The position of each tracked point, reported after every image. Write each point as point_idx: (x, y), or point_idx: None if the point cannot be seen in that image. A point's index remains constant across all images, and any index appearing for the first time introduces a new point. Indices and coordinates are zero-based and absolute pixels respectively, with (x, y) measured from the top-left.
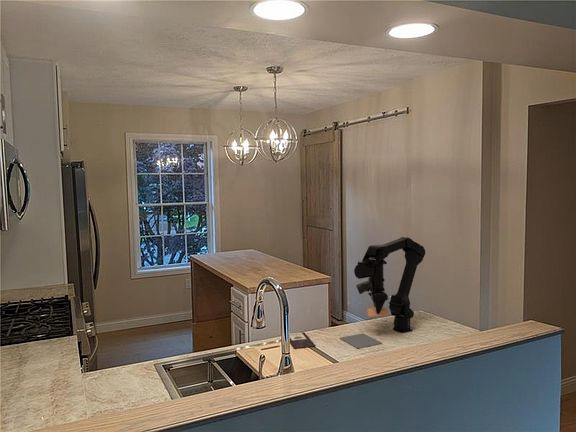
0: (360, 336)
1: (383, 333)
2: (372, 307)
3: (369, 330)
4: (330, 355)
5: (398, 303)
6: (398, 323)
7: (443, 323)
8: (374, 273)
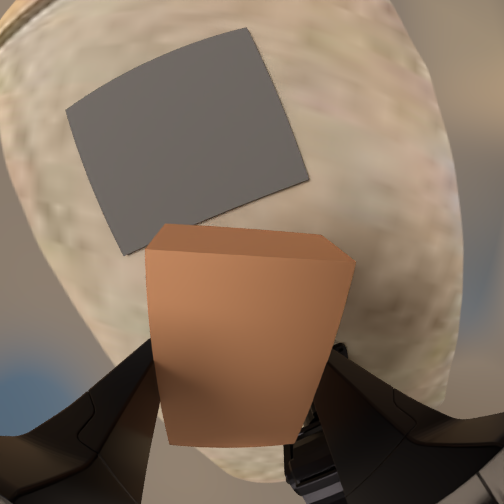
0: (250, 146)
1: None
2: (319, 339)
3: (360, 231)
4: (41, 14)
5: (324, 489)
6: None
7: None
8: None
